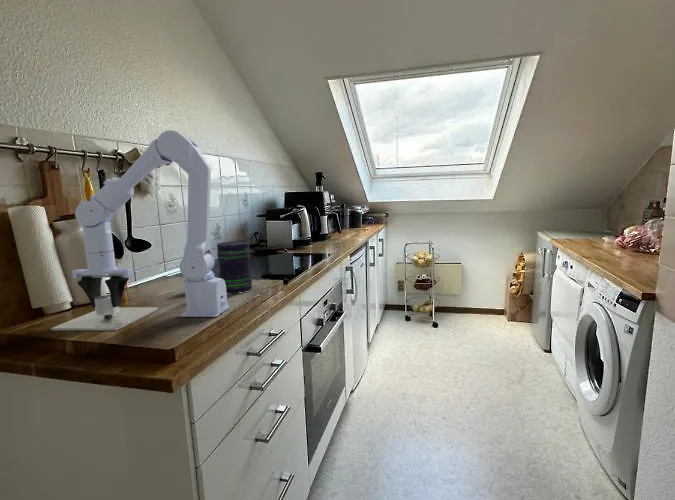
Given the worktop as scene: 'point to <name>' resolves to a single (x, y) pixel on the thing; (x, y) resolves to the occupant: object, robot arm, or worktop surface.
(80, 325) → the thin grey base plate
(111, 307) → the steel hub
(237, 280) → the storage jar
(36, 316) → the worktop surface
